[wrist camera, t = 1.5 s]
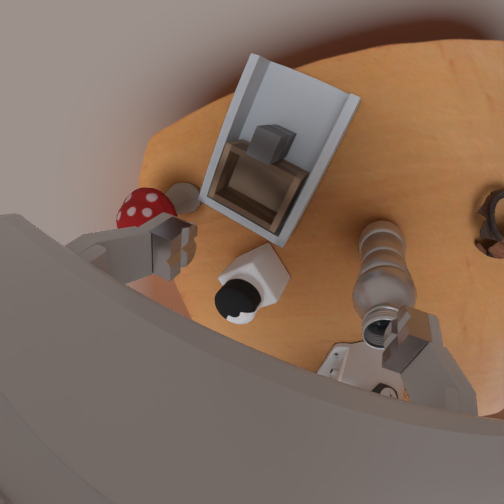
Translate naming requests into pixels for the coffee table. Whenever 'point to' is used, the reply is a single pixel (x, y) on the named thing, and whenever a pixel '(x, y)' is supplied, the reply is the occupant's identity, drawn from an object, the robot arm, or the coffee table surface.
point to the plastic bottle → (381, 280)
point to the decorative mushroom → (157, 204)
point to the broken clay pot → (491, 226)
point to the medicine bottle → (251, 284)
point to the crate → (259, 176)
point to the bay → (292, 118)
